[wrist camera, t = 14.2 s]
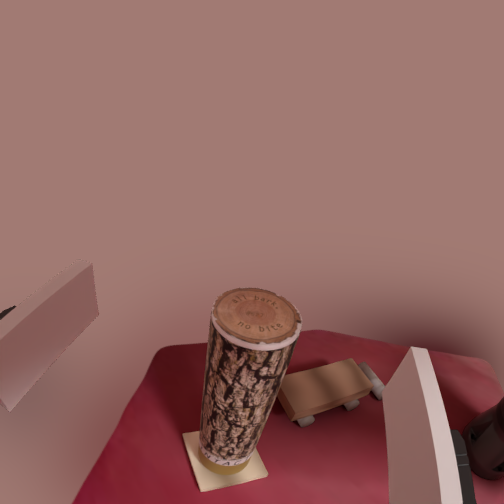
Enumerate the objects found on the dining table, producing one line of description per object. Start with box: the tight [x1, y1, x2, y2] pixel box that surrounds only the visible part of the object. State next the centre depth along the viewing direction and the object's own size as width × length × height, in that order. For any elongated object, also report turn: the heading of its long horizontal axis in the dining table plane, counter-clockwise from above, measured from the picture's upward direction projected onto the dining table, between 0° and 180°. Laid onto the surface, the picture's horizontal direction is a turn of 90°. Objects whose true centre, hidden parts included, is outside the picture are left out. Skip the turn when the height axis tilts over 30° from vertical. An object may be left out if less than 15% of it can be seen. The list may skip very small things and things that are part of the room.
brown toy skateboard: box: [277, 358, 385, 427], centre depth 45 cm, size 20×8×5 cm, turn 111°
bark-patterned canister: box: [198, 288, 302, 475], centre depth 28 cm, size 7×7×25 cm
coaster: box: [183, 431, 268, 492], centre depth 34 cm, size 9×9×1 cm
